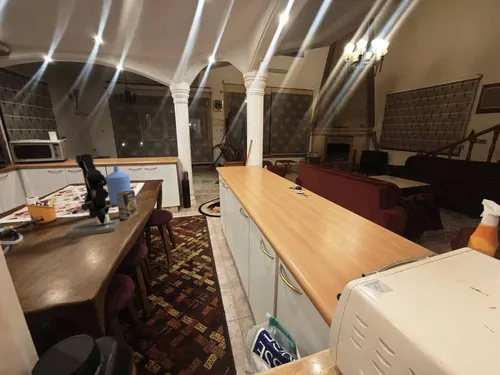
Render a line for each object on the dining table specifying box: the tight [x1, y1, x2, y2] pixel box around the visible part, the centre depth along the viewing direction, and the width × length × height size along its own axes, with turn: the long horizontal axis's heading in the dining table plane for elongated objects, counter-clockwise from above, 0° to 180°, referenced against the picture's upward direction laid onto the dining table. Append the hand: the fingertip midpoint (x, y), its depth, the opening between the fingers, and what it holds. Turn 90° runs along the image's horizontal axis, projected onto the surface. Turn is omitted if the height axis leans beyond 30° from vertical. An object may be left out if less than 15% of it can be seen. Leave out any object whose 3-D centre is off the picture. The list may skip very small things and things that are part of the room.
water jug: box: [105, 165, 132, 206], centre depth 164 cm, size 16×16×28 cm
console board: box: [65, 218, 120, 238], centre depth 123 cm, size 13×22×2 cm, turn 110°
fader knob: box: [95, 213, 111, 224], centre depth 124 cm, size 4×5×5 cm
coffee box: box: [116, 190, 138, 220], centre depth 139 cm, size 9×6×16 cm
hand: (103, 221), depth 124 cm, fingers closed on fader knob, 4 cm apart
